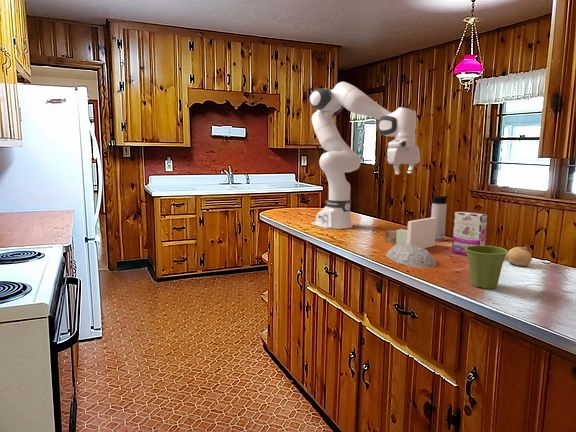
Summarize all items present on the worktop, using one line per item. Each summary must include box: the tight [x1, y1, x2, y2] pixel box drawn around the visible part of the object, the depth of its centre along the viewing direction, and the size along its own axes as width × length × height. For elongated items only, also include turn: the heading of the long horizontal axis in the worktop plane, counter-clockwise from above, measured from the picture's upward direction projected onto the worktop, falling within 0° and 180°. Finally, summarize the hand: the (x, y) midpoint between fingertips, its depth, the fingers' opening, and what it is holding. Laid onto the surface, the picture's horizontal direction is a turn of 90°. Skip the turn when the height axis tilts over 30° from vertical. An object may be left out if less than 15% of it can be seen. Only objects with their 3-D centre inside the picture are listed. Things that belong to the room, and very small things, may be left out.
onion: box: [505, 246, 533, 267], centre depth 157 cm, size 8×8×7 cm
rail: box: [384, 229, 397, 245], centre depth 190 cm, size 14×4×5 cm, turn 40°
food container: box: [385, 243, 438, 269], centre depth 164 cm, size 16×25×7 cm, turn 19°
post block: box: [395, 217, 437, 249], centre depth 184 cm, size 9×18×12 cm, turn 130°
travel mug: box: [430, 195, 449, 242], centre depth 198 cm, size 6×7×20 cm
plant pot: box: [465, 245, 509, 290], centre depth 132 cm, size 12×12×11 cm
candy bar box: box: [451, 211, 488, 257], centre depth 171 cm, size 11×5×16 cm, turn 40°
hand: (403, 174), depth 202 cm, fingers open, 8 cm apart
